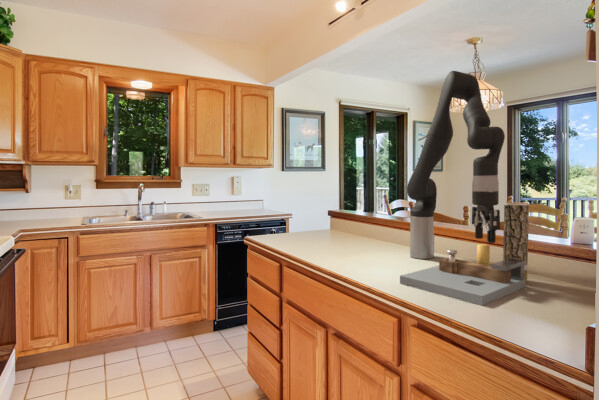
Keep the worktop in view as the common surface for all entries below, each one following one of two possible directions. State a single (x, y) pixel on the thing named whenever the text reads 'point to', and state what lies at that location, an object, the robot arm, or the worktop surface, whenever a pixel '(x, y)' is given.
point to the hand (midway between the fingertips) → (484, 240)
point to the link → (474, 270)
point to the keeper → (511, 268)
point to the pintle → (452, 255)
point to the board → (460, 285)
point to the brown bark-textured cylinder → (516, 232)
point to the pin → (483, 254)
